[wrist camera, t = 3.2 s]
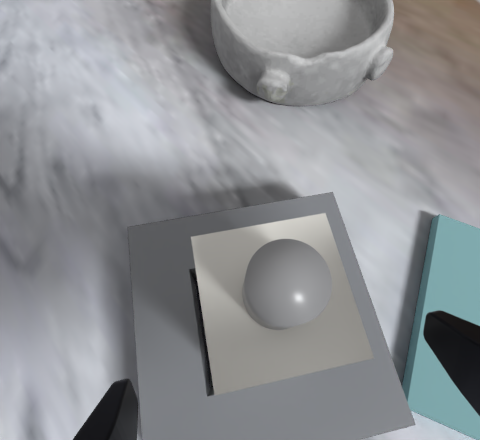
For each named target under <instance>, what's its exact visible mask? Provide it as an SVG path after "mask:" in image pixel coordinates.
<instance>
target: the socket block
mask: <svg viewBox="0 0 480 440" xmlns="http://www.w3.org/2000/svg"><path fill="white" fill-rule="evenodd" d="M322 213H326V216H327V219H328V222H329V225H330V228H331V231H332V234H333V237H334V240H335V243H336V246H337V249H338V252H339V255H340V258H341V261H342V264H343V267H344V270H345V273H346V276H347V279H348V282H349V285H350V288H351V291H352V294H353V297H354V299H355V302H356V305H357V308H358V311H359V314H360V317H361V320H362V323H363V326H364V329H365V332H366V335H367V338H368V341H369V344H370V347H371V350H372V353H373V356H374V358H373V359H369V360H364V361H360V362H356V363H352V364H347V365H343V366H339V367H335V368H330V369H326V370H322V371H317V372H313V373H309V374H305V375H300V376H296V377H292V378H288V379H283V380H279V381H275V382H271V383H266V384H262V385H258V386H253V387H249V388H245V389H241V390H236V391H232V392H228V393H224V394H219V395H214V389H213V388H211V387H210V381H209V374H208V367H207V360H206V353H205V346H204V340H203V333H202V326H201V319H200V312H199V305H198V299H197V292H196V285H195V280H197V275H196V268H195V261H194V255H193V248H192V241H191V237H193V236H198V235H204V234H209V233H215V232H221V231H226V230H232V229H238V228H243V227H249V226H255V225H260V224H266V223H272V222H277V221H283V220H288V219H294V218H300V217H305V216H311V215H317V214H322ZM128 240H129V255H130V270H131V285H132V299H133V314H134V329H135V344H136V358H137V373H138V388H139V402H140V417H141V432H142V440H360V439H364V438H368V437H371V436H375V435H379V434H383V433H387V432H390V431H394V430H398V429H402V428H406V427H409V426H413V425H415V422H414V419H413V416H412V414H411V411H410V408H409V405H408V402H407V400H406V397H405V394H404V391H403V388H402V385H401V383H400V380H399V377H398V374H397V371H396V369H395V366H394V363H393V360H392V357H391V355H390V352H389V349H388V346H387V343H386V340H385V338H384V335H383V332H382V329H381V326H380V324H379V321H378V318H377V315H376V312H375V310H374V307H373V304H372V301H371V298H370V295H369V293H368V290H367V287H366V284H365V281H364V279H363V276H362V273H361V270H360V267H359V265H358V262H357V259H356V256H355V253H354V250H353V248H352V245H351V242H350V239H349V236H348V234H347V231H346V228H345V225H344V222H343V220H342V217H341V214H340V211H339V208H338V205H337V203H336V200H335V197H334V194H333V192H330V193H324V194H319V195H313V196H307V197H301V198H295V199H289V200H283V201H277V202H272V203H266V204H260V205H254V206H248V207H242V208H236V209H230V210H224V211H219V212H213V213H207V214H201V215H195V216H189V217H183V218H177V219H172V220H166V221H160V222H154V223H148V224H142V225H136V226H130V227H128Z"/></svg>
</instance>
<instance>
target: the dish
mask: <svg viewBox="0 0 480 440" xmlns="http://www.w3.org/2000/svg"><path fill="white" fill-rule="evenodd" d="M210 16H211V28H212V35H213V40H214V44H215V48H216V51H217V54H218V57H219V59H220V61H221V63H222V65H223V67H224V68H225V70H226V71H227V72H228V73H229V74H230V76H231V77H232V78H233V79H234V80H235V81H236V82H237V83H239V84H240V85H241V86H242V87H244V88H245V89H246V90H248V91H249V92H251V93H252V94H254V95H256V96H258V97H260V98H262V99H265V100H267V101H269V102H273V103H277V104H281V105H290V106H313V105H321V104H325V103H330V102H334V101H337V100H340V99H343V98H345V97H347V96H349V95H351V94H352V93H354V92H355V91H357V90H358V89H359V88H360V87H361V86H362V85H363V84H364V82H365V81H366V80H367V78H368V79H370V80H375V79H377V78H379V77H380V76H381V75H382V74H383V72H384V71H385V70H386V68H387V67H388V65H389V63H390V61H391V59H392V56H393V49H391V48H389V47H386V44H387V42H388V39H389V36H390V32H391V29H392V25H393V19H394V5H393V2H392V0H211V12H210Z"/></svg>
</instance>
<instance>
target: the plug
mask: <svg viewBox="0 0 480 440" xmlns="http://www.w3.org/2000/svg"><path fill="white" fill-rule="evenodd" d="M191 241H192V248H193V255H194V261H195V268H196V275H197V282H198V288H199V295H200V302H201V308H202V315H203V322H204V328H205V335H206V342H207V349H208V355H209V362H210V369H211V375H212V382H213V389H214V395H219V394H224V393H228V392H232V391H236V390H241V389H245V388H249V387H253V386H258V385H262V384H266V383H271V382H275V381H279V380H283V379H288V378H292V377H296V376H300V375H305V374H309V373H313V372H317V371H322V370H326V369H330V368H335V367H339V366H343V365H347V364H352V363H356V362H360V361H364V360H369V359H373V358H374V356H373V353H372V350H371V347H370V344H369V341H368V338H367V335H366V332H365V329H364V326H363V323H362V320H361V317H360V314H359V311H358V308H357V305H356V302H355V299H354V297H353V294H352V291H351V288H350V285H349V282H348V279H347V276H346V273H345V270H344V267H343V264H342V261H341V258H340V255H339V252H338V249H337V246H336V243H335V240H334V237H333V234H332V231H331V228H330V225H329V222H328V219H327V216H326V213H322V214H317V215H311V216H305V217H300V218H294V219H288V220H283V221H277V222H272V223H266V224H260V225H255V226H249V227H243V228H238V229H232V230H226V231H221V232H215V233H209V234H204V235H198V236H193V237H191Z"/></svg>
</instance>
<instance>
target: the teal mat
mask: <svg viewBox="0 0 480 440" xmlns="http://www.w3.org/2000/svg"><path fill="white" fill-rule="evenodd" d="M437 310H442V311H445V312H447V313H450V314H452V315H454V316H457V317H459V318H462V319H464V320H466V321H469V322H471V323H474V324H476V325H479V326H480V229H479V228H476V227H473V226H471V225H468V224H465V223H462V222H460V221H457V220H454V219H451V218H449V217H446V216H443V215H440V214H439V215H438V216H436V217H434V218H433V219H432V223H431V228H430V234H429V239H428V245H427V251H426V256H425V262H424V267H423V273H422V278H421V284H420V289H419V295H418V300H417V306H416V312H415V317H414V323H413V328H412V334H411V339H410V345H409V350H408V356H407V361H406V367H405V373H404V378H403V384H402V388H403V391H404V394H405V397H406V400H407V402H408V405H409V408H410V410H411V411H413V412H416V413H418V414H420V415H422V416H425V417H427V418H429V419H431V420H434V421H436V422H438V423H440V424H443V425H445V426H447V427H449V428H452V429H454V430H456V431H458V432H461V433H463V434H465V435H467V436H470V437H472V438H474V439H476V440H480V416H479V415H478V414H477V412H476V411H475V410H474V409H473V407H472V406H471V405H470V404H469V402H468V401H467V400H466V399H465V397H464V396H463V395H462V393H461V392H460V391H459V390H458V388H457V387H456V385H455V384H454V383H453V381H452V380H451V378H450V377H449V375H448V374H447V372H446V371H445V369H444V368H443V366H442V365H441V363H440V362H439V360H438V359H437V357H436V356H435V354H434V353H433V351H432V350H431V348H430V347H429V345H428V344H427V342H426V340H425V338H424V335H423V330H424V324H425V318H426V314H427V313H429V312H432V311H437Z"/></svg>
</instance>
